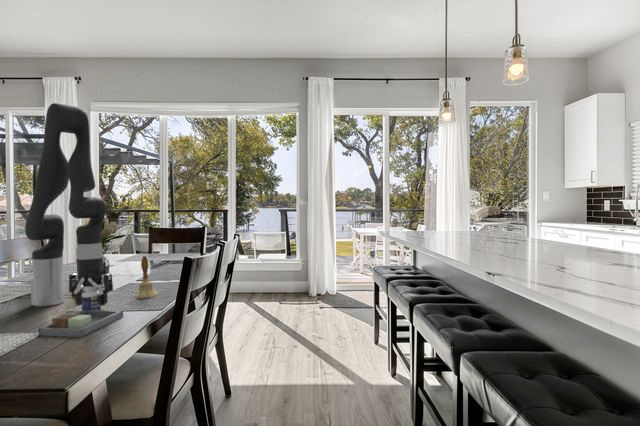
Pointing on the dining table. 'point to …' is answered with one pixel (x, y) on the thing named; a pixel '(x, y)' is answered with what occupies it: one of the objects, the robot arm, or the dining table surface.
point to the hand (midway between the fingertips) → (91, 304)
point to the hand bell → (145, 282)
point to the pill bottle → (90, 299)
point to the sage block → (79, 321)
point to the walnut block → (61, 321)
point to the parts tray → (97, 321)
